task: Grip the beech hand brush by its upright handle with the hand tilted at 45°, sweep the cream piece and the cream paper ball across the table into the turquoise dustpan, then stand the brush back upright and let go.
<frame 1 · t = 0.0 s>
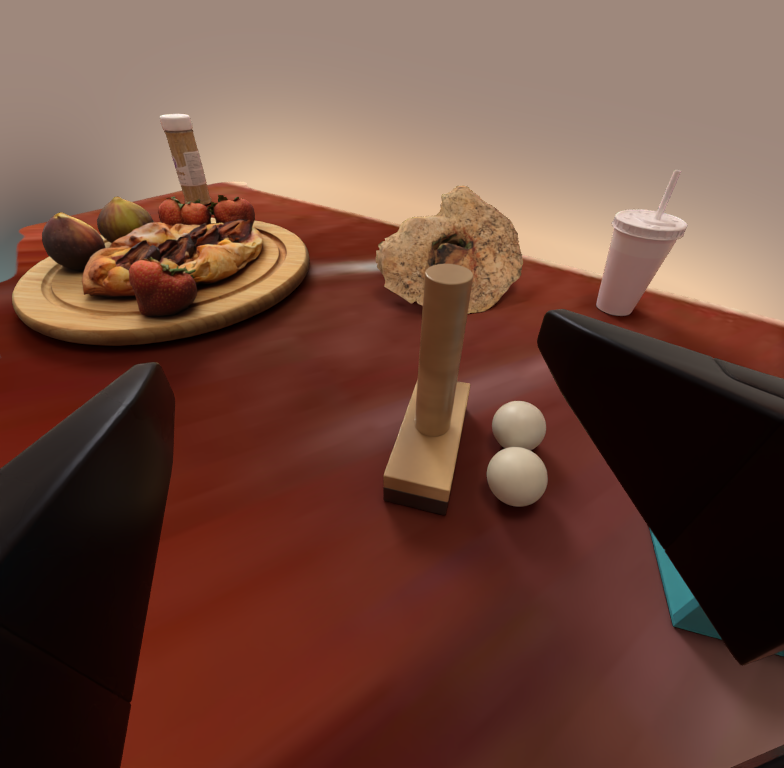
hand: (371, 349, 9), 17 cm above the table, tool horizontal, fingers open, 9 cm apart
paper ball 2: (510, 493, 26), on the table
tan piece: (451, 288, 48), on the table
smoothie: (613, 309, 45), on the table
wooden plate: (180, 279, 49), on the table
dustpan: (736, 515, 25), on the table
brush: (429, 449, 28), on the table
sprinkles bottle: (199, 204, 73), on the table
cream piece 1: (513, 443, 29), on the table
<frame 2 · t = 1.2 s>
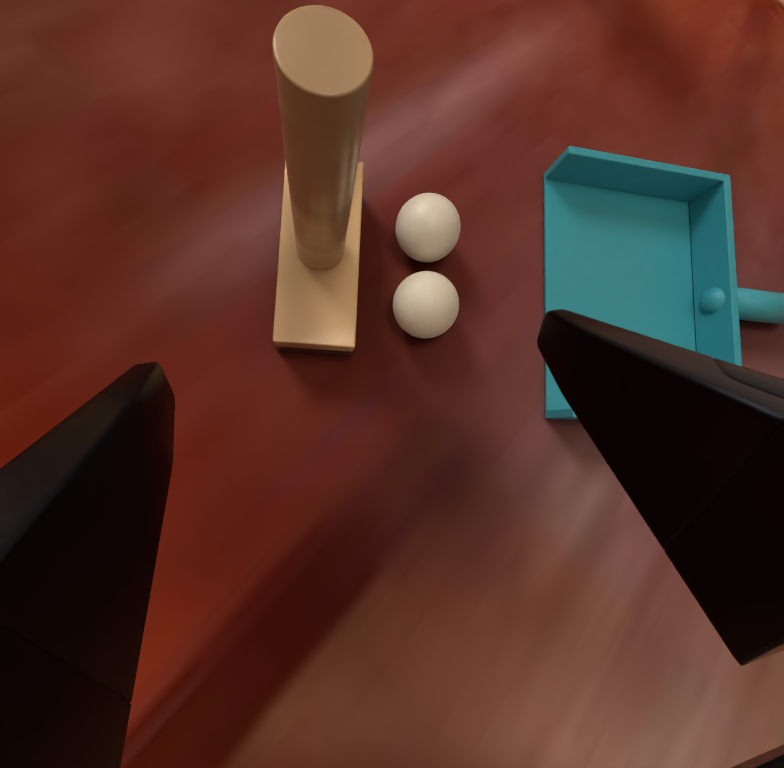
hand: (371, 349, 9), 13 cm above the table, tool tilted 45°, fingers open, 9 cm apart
paper ball 2: (417, 314, 23), on the table
dustpan: (620, 299, 26), on the table
brush: (319, 267, 23), on the table
cream piece 1: (419, 243, 24), on the table
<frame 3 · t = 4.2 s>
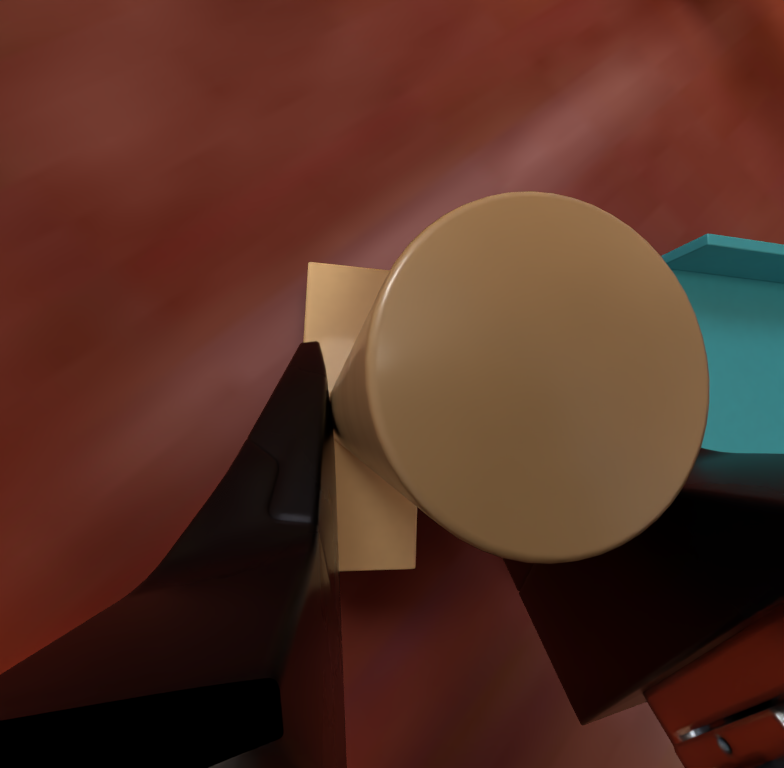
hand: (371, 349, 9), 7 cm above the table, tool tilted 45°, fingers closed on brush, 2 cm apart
dustpan: (757, 430, 19), on the table
brush: (354, 415, 16), on the table, touching gripper
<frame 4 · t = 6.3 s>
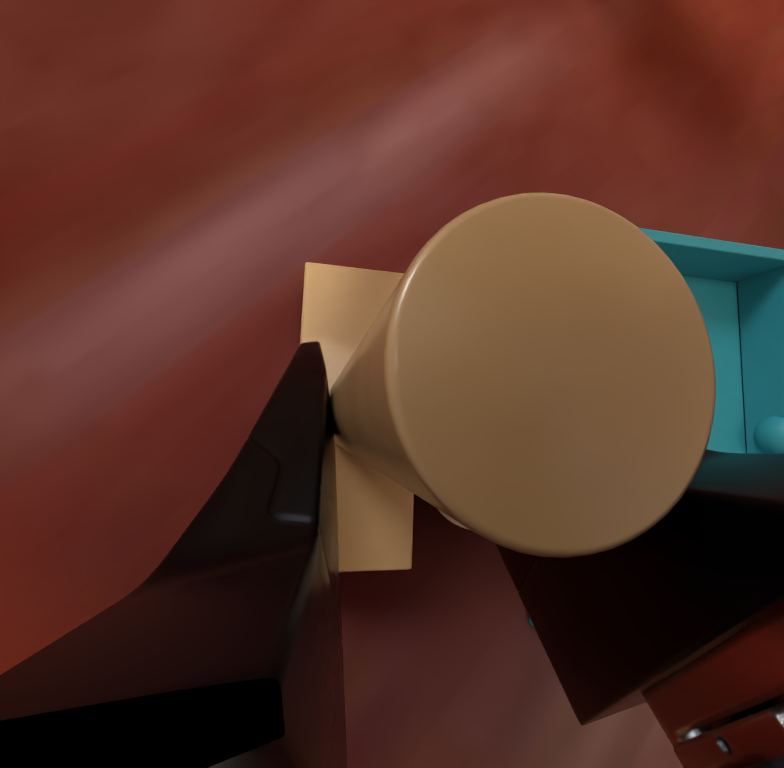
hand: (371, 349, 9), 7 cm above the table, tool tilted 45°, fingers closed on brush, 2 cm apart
dustpan: (640, 430, 18), on the table
brush: (349, 415, 16), on the table, touching gripper
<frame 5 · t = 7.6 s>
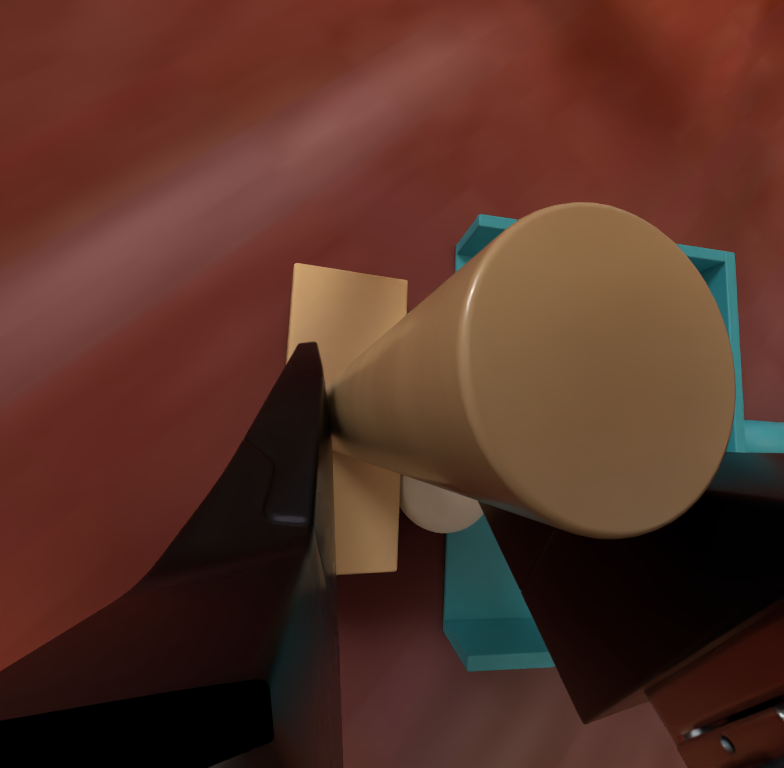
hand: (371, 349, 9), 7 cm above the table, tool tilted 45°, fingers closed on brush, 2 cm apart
paper ball 2: (492, 483, 14), point 3 cm above the table, tilted 123°, touching brush, dustpan
dustpan: (568, 433, 17), on the table
brush: (334, 418, 16), on the table, tilted 6°, touching gripper, cream piece 1, paper ball 2
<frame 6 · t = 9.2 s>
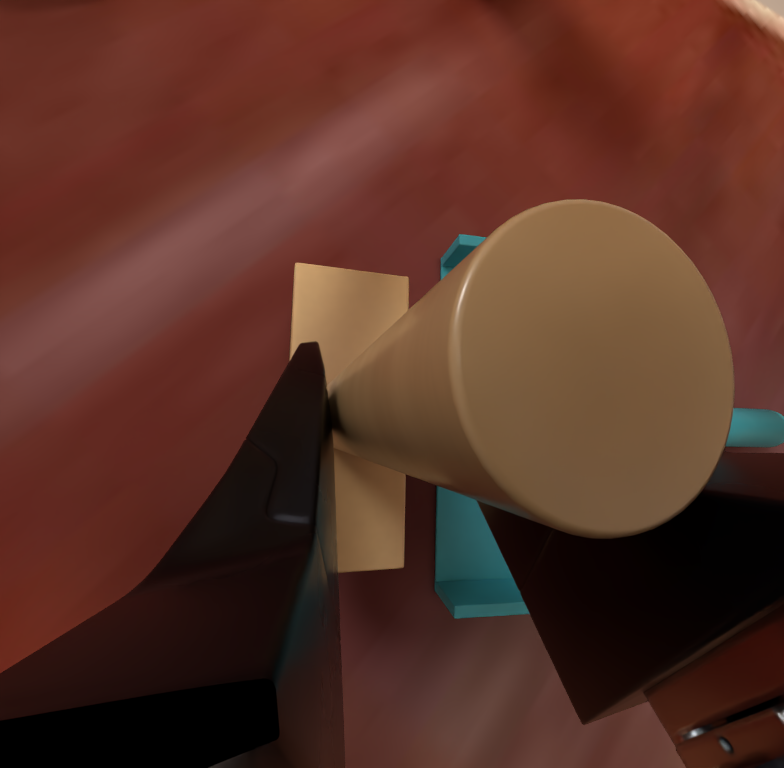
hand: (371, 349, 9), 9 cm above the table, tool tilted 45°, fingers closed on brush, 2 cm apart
dustpan: (541, 421, 20), on the table
brush: (338, 416, 16), point 3 cm above the table, touching gripper
when the fingers open (7 cm above the table, at t = 11.4 s): brush stays where it is, on the table.
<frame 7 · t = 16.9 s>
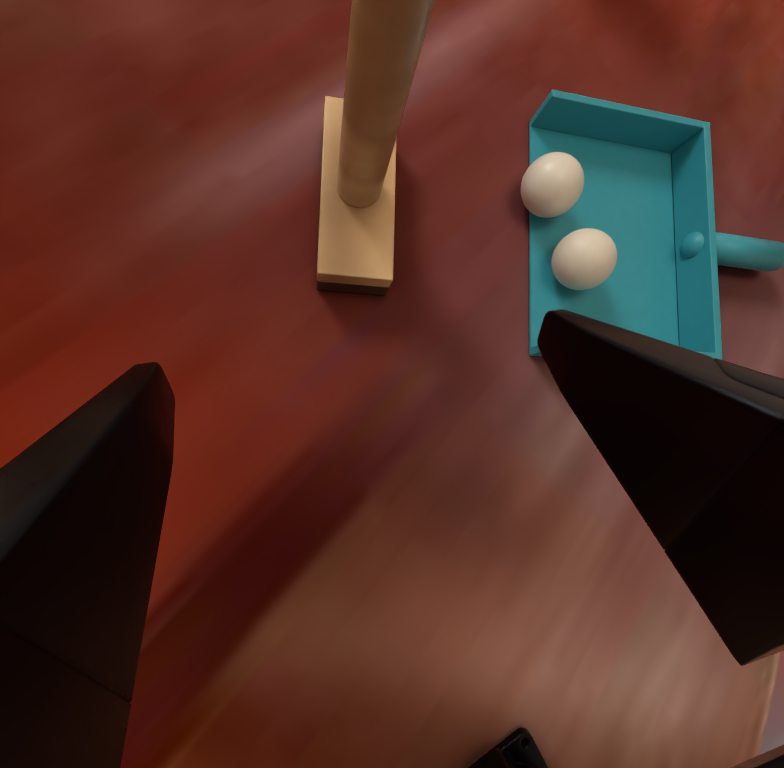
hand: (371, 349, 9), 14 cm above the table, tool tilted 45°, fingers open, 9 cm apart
paper ball 2: (573, 270, 26), resting on dustpan, tilted 19°
dustpan: (603, 245, 27), on the table
brush: (354, 212, 24), on the table
cream piece 1: (576, 190, 25), point 2 cm above the table, tilted 85°, touching dustpan
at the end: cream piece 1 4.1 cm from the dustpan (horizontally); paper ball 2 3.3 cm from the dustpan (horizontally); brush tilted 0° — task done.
